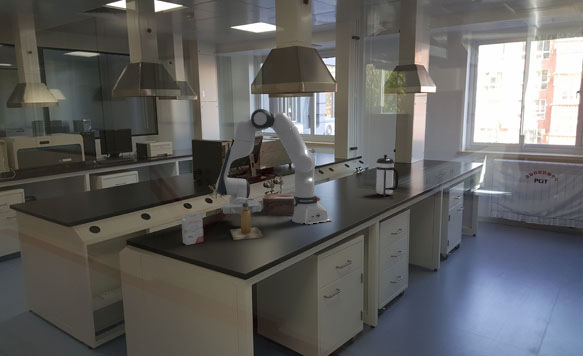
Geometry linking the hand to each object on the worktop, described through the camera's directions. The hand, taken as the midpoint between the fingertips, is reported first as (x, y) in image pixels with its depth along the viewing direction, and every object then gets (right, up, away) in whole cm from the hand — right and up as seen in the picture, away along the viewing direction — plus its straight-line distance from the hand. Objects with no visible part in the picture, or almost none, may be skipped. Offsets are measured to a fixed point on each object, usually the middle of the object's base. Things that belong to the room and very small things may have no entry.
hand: (244, 211), depth 203 cm
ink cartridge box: (-23, -13, -14) cm, 30 cm away
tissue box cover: (+20, -4, +45) cm, 49 cm away
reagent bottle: (+1, -10, -3) cm, 10 cm away
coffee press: (+94, +4, +93) cm, 132 cm away
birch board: (+1, -11, -2) cm, 12 cm away
